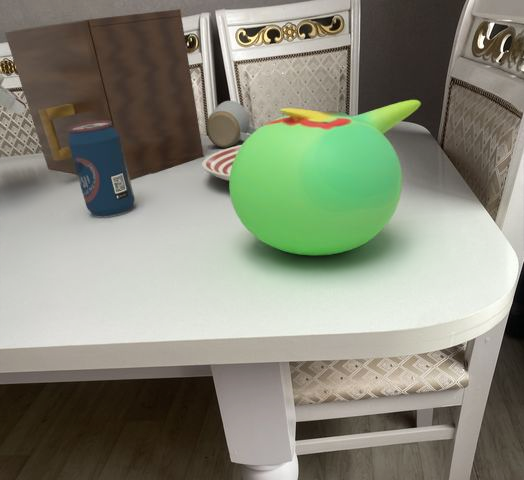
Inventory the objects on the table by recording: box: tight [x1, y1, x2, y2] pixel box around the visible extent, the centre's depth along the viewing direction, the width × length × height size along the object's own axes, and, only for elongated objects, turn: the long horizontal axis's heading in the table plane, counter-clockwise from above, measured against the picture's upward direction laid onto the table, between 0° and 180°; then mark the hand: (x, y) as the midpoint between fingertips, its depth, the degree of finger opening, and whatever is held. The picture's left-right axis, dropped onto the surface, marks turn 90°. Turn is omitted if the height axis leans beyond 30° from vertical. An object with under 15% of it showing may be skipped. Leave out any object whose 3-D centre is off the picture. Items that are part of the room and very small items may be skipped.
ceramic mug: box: [205, 100, 258, 149], centre depth 105 cm, size 11×8×8 cm
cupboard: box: [11, 8, 205, 181], centre depth 98 cm, size 18×26×24 cm
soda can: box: [68, 120, 136, 219], centre depth 74 cm, size 7×7×12 cm
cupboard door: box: [4, 20, 113, 175], centre depth 90 cm, size 7×26×24 cm, turn 48°
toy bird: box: [228, 99, 422, 256], centre depth 54 cm, size 18×17×15 cm
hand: (23, 110), depth 86 cm, fingers closed
